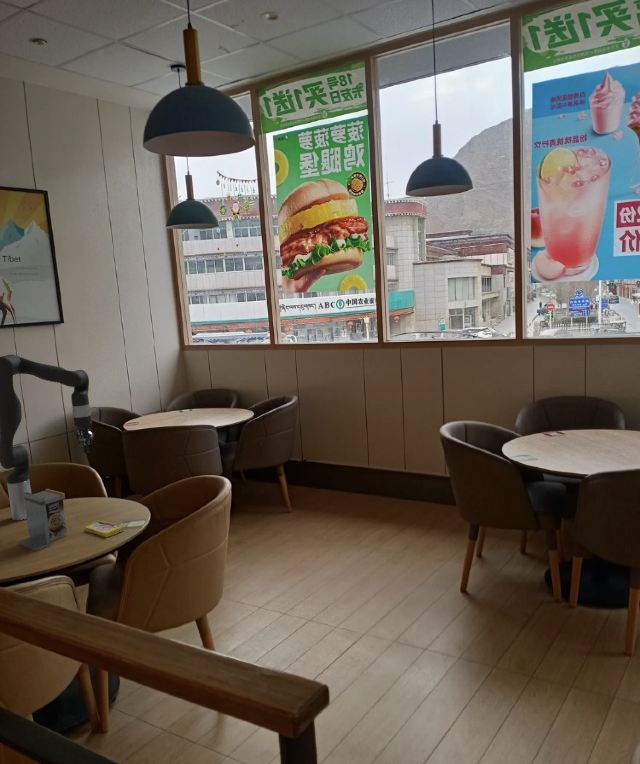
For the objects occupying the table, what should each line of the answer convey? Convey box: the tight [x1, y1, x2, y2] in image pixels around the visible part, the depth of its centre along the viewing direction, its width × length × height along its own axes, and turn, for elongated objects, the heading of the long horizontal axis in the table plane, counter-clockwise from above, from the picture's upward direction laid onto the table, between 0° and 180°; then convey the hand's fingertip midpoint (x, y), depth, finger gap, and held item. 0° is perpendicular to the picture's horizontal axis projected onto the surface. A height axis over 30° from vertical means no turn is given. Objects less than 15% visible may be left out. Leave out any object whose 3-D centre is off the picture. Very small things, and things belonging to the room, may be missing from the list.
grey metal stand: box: [17, 488, 66, 552], centre depth 250 cm, size 14×15×20 cm
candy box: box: [84, 520, 125, 538], centre depth 257 cm, size 16×2×8 cm
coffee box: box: [45, 499, 68, 542], centre depth 253 cm, size 9×6×16 cm
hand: (86, 453), depth 276 cm, fingers closed
